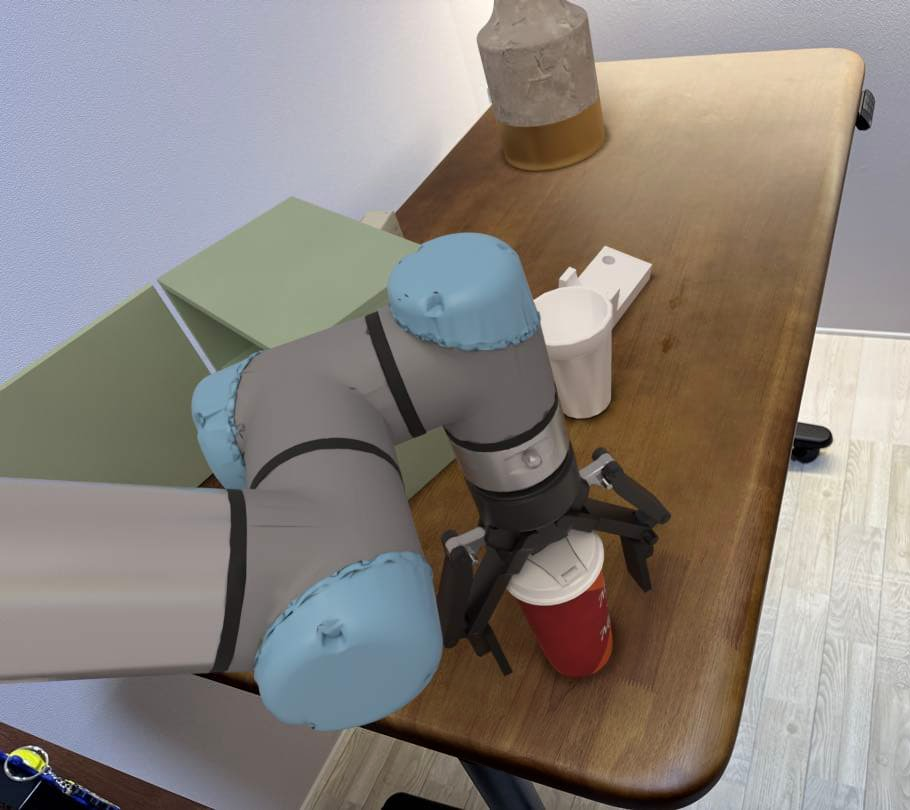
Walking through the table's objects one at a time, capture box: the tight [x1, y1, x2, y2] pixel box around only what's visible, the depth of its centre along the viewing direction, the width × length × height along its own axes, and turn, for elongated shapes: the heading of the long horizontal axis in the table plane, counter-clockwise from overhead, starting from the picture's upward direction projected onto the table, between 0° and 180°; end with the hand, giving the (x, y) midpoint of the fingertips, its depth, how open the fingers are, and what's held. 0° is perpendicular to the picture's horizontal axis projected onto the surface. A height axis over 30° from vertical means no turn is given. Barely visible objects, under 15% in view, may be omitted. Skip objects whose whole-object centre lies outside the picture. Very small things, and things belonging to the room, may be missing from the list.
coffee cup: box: [505, 529, 613, 678], centre depth 64 cm, size 8×8×15 cm
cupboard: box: [156, 195, 456, 501], centre depth 87 cm, size 18×26×24 cm
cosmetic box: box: [359, 209, 405, 239], centre depth 111 cm, size 6×4×12 cm
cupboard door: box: [0, 283, 214, 488], centre depth 85 cm, size 7×26×24 cm, turn 145°
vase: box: [476, 0, 607, 172], centre depth 130 cm, size 18×18×30 cm
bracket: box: [558, 245, 653, 330], centre depth 101 cm, size 13×7×8 cm, turn 149°
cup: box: [533, 286, 613, 419], centre depth 86 cm, size 10×10×13 cm
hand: (572, 620), depth 66 cm, fingers open, 13 cm apart
